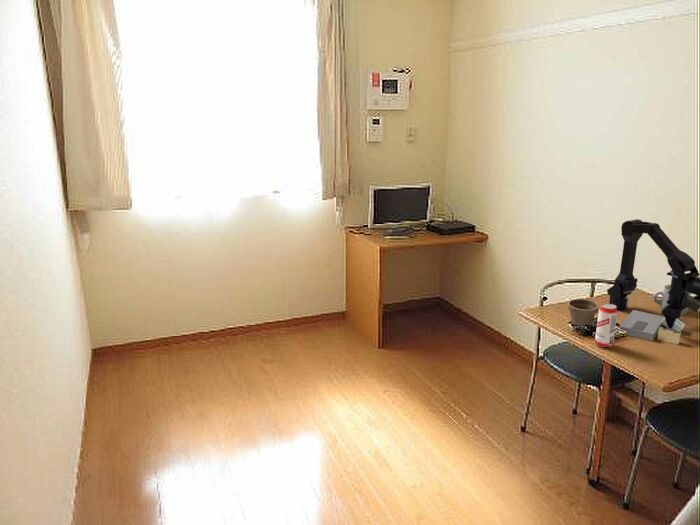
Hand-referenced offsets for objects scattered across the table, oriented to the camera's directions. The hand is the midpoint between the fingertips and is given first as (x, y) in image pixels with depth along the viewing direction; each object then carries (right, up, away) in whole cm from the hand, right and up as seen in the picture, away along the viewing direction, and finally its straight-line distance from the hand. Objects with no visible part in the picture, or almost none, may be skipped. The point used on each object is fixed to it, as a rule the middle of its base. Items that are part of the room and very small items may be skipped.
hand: (672, 325), depth 211 cm
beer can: (-32, -7, -10) cm, 34 cm away
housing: (-10, -2, +3) cm, 11 cm away
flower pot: (-34, -2, +6) cm, 34 cm away
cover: (0, 0, 0) cm, 1 cm away
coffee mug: (+10, +4, +20) cm, 23 cm away
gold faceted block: (-6, -5, -8) cm, 11 cm away
